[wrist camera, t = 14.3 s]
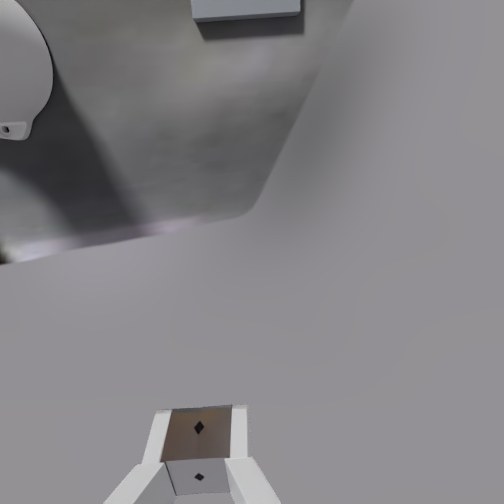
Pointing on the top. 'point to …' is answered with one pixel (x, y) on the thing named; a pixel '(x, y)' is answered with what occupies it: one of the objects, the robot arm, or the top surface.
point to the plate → (242, 9)
